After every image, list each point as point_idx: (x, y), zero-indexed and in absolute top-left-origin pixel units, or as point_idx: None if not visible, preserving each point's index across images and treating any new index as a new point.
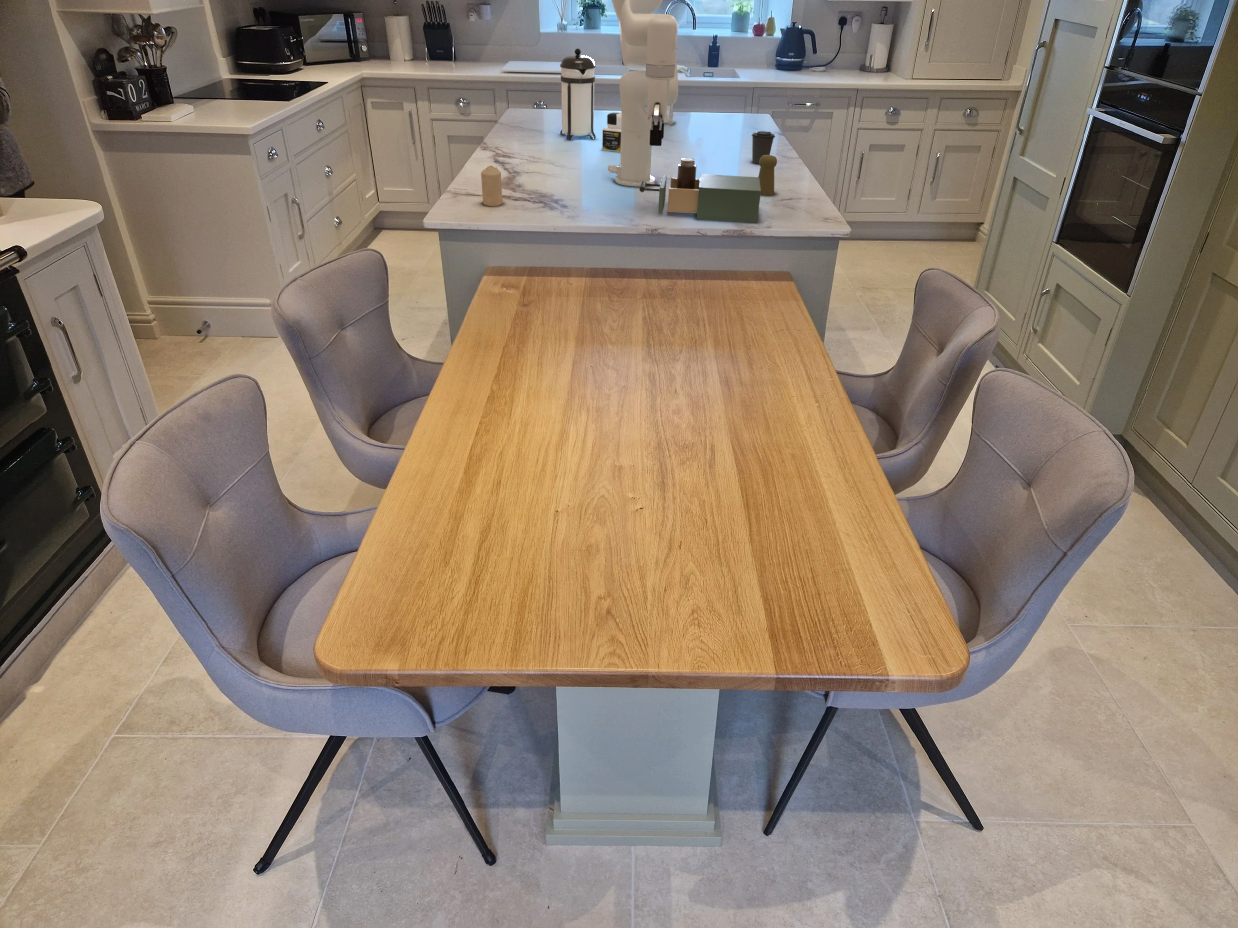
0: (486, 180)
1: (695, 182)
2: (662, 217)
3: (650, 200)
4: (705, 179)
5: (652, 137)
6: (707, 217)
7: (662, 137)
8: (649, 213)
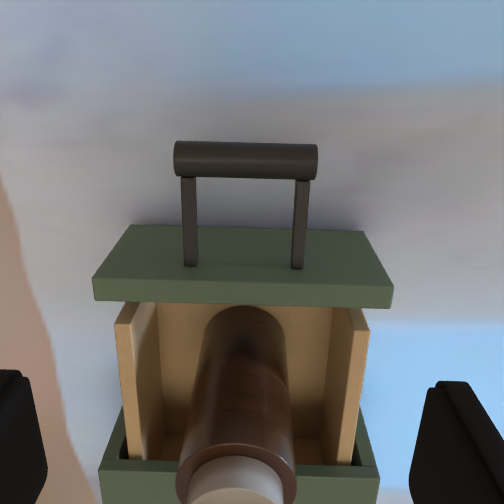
0: None
1: (337, 432)
2: None
3: (406, 171)
4: None
5: None
6: None
7: (413, 492)
8: (174, 177)
